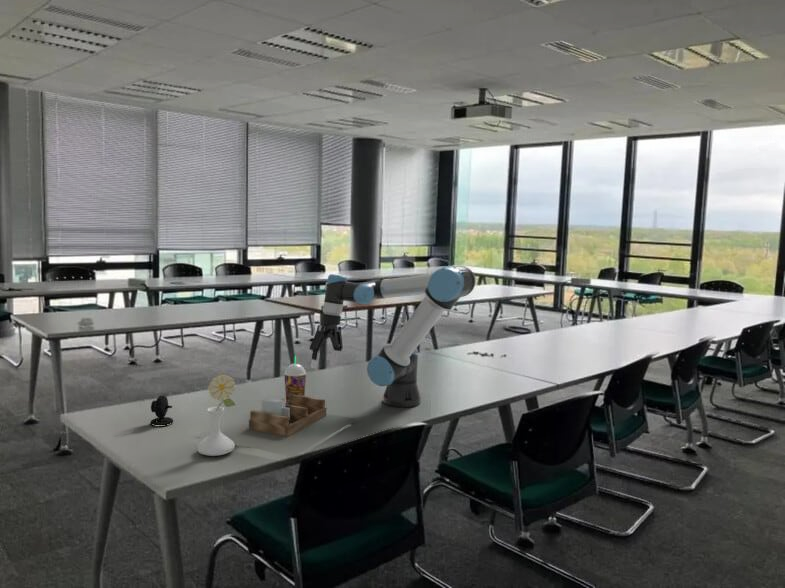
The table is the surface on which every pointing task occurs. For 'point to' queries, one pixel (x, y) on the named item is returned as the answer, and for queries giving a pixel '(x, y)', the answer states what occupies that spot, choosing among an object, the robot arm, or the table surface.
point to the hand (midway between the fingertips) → (323, 367)
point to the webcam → (161, 411)
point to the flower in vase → (218, 418)
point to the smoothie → (295, 380)
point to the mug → (275, 406)
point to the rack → (300, 416)
